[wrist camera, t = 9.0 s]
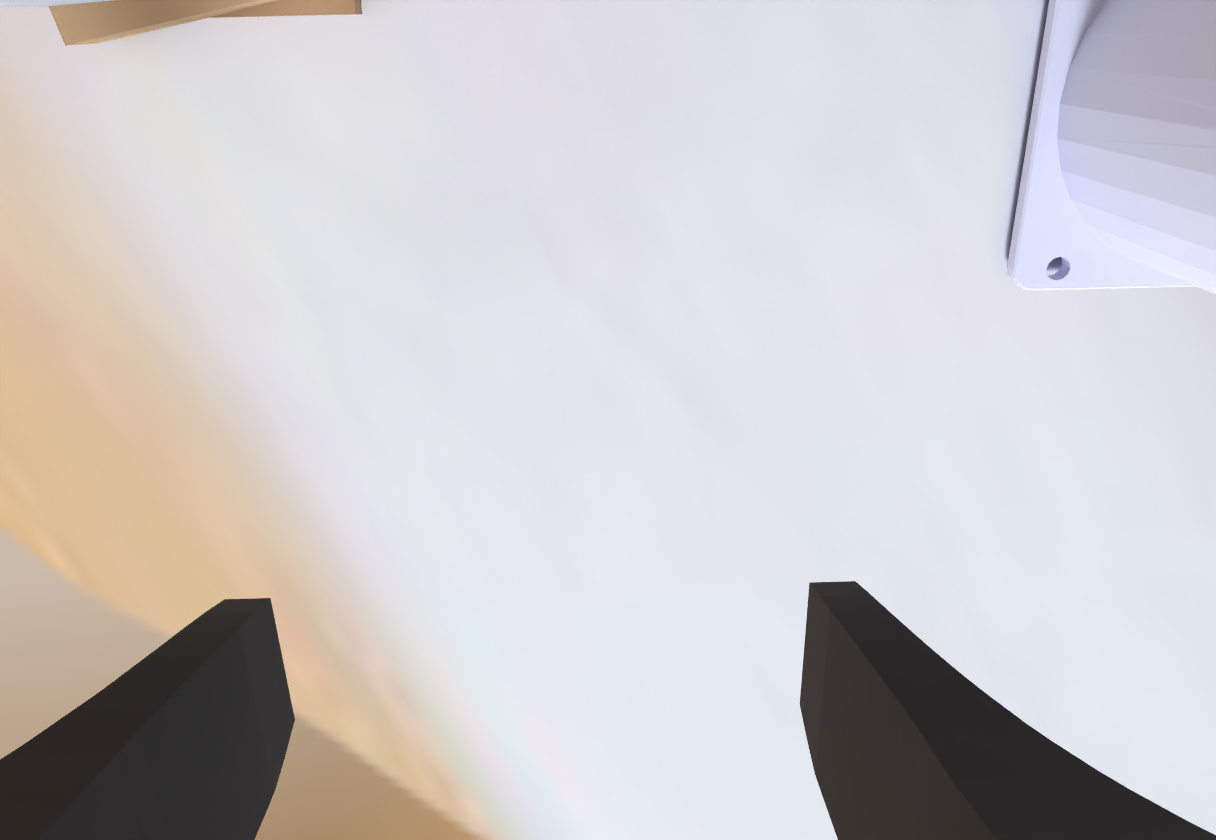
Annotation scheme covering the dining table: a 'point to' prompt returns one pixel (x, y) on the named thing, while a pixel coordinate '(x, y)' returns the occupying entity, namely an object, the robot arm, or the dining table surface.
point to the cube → (42, 2)
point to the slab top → (135, 16)
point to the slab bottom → (300, 8)
